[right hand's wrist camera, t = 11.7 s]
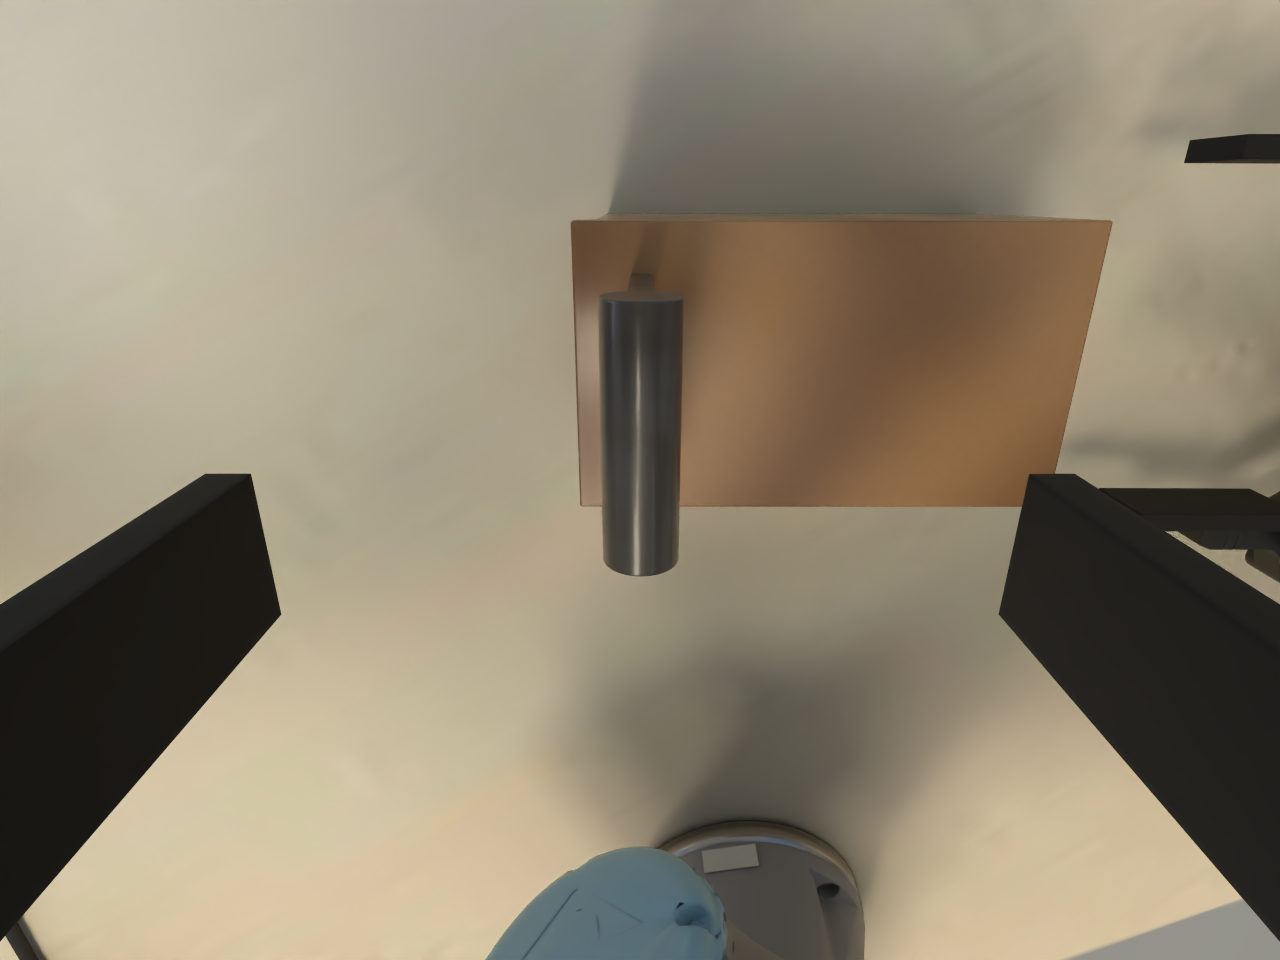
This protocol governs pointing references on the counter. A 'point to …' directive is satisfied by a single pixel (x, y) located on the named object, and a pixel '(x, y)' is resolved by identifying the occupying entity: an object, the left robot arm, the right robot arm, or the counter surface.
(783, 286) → the lid
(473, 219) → the counter surface
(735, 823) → the left robot arm
